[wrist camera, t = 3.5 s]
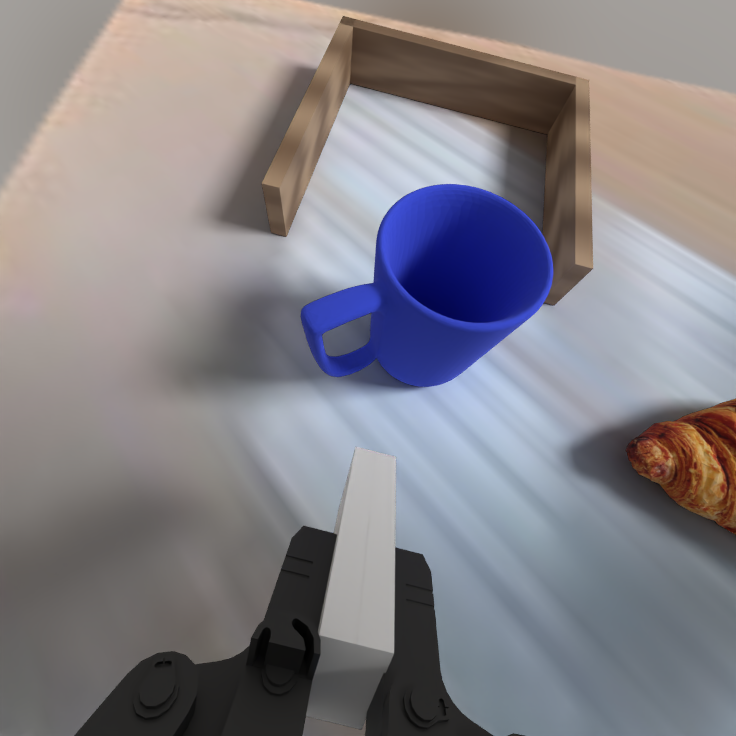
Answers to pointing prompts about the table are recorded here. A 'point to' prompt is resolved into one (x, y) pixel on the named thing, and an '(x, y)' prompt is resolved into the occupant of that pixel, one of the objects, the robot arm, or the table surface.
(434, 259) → the mug
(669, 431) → the croissant
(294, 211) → the box
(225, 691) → the robot arm
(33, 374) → the table surface
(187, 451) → the table surface
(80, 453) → the table surface
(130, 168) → the table surface
